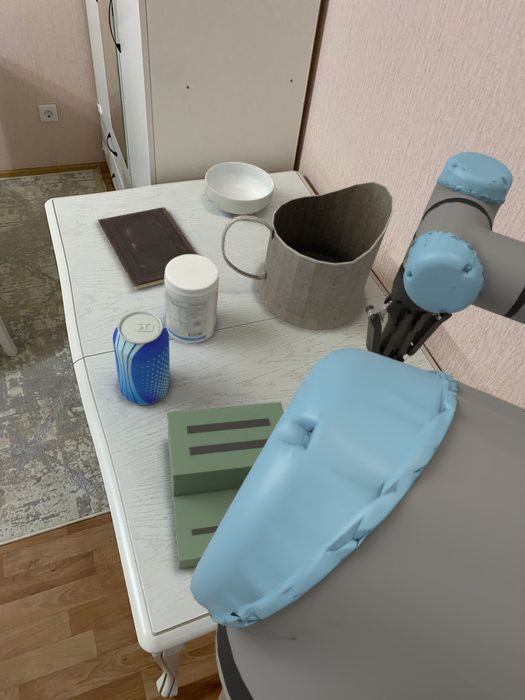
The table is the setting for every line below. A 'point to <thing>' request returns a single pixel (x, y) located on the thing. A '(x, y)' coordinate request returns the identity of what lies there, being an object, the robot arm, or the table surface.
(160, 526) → the table surface
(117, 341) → the beer can
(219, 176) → the cereal bowl
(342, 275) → the pitcher
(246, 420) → the toaster
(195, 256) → the supplement tub
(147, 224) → the hardcover book
